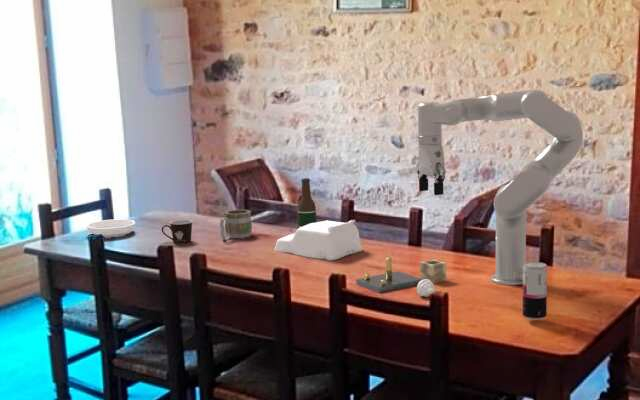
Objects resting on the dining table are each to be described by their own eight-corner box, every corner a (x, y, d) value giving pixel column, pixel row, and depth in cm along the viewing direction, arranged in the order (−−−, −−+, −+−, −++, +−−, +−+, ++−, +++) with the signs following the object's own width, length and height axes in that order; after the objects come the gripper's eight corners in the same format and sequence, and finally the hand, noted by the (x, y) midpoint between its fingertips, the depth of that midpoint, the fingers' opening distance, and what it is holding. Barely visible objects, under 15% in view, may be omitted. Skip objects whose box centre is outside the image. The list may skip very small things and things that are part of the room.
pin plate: (422, 283, 294) (422, 258, 292) (379, 292, 285) (378, 266, 284) (398, 275, 305) (398, 250, 303) (356, 284, 296) (355, 258, 295)
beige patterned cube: (446, 280, 297) (445, 262, 296) (431, 283, 294) (431, 265, 293) (434, 277, 302) (434, 259, 301) (420, 279, 299) (419, 262, 298)
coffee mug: (198, 245, 361) (196, 220, 359) (183, 250, 354) (182, 225, 352) (175, 242, 367) (174, 218, 365) (161, 247, 360) (159, 222, 358)
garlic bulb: (425, 301, 274) (425, 283, 273) (415, 296, 280) (415, 279, 279) (440, 298, 277) (440, 281, 276) (430, 294, 282) (430, 277, 281)
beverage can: (521, 318, 254) (521, 266, 252) (524, 312, 260) (524, 261, 258) (544, 320, 252) (545, 268, 249) (547, 313, 258) (548, 262, 255)
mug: (237, 237, 375) (236, 208, 372) (258, 239, 368) (256, 210, 366) (211, 244, 362) (210, 215, 360) (232, 247, 356) (230, 217, 354)
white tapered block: (334, 264, 324) (333, 228, 322) (271, 254, 343) (270, 219, 340) (365, 254, 339) (365, 218, 336) (304, 245, 357) (302, 211, 355)
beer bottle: (303, 239, 366) (301, 180, 361) (294, 236, 372) (292, 178, 368) (320, 237, 369) (318, 178, 365) (311, 234, 376) (309, 176, 372)
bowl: (130, 245, 366) (129, 227, 365) (82, 246, 367) (81, 229, 365) (140, 235, 385) (139, 218, 384) (94, 236, 386) (93, 219, 385)
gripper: (454, 141, 288) (454, 195, 291) (427, 137, 304) (428, 188, 306) (433, 143, 285) (434, 197, 288) (407, 139, 301) (408, 190, 304)
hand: (431, 192), depth 297 cm, fingers open, 9 cm apart
